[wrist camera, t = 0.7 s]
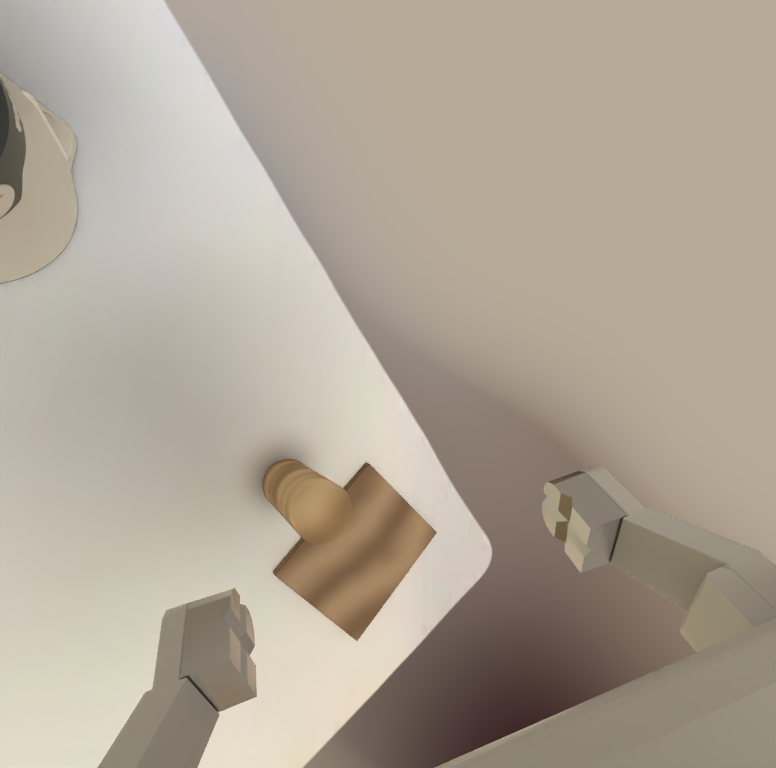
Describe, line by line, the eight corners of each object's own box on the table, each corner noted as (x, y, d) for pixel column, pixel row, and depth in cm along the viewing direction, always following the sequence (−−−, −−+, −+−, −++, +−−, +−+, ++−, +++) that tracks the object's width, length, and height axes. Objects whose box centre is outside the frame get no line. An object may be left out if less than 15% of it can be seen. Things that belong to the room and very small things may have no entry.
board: (273, 571, 46) (275, 575, 45) (365, 462, 51) (369, 464, 50) (353, 636, 50) (357, 641, 49) (432, 530, 55) (436, 532, 54)
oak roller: (252, 486, 45) (280, 519, 34) (287, 449, 46) (324, 470, 36) (286, 516, 46) (323, 556, 36) (318, 479, 48) (363, 508, 37)
